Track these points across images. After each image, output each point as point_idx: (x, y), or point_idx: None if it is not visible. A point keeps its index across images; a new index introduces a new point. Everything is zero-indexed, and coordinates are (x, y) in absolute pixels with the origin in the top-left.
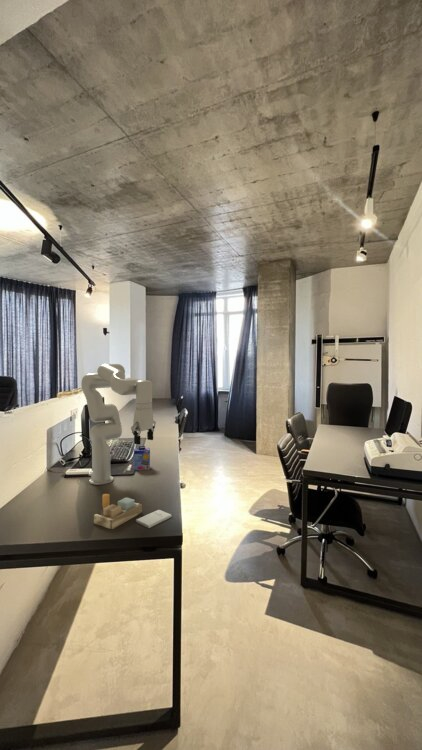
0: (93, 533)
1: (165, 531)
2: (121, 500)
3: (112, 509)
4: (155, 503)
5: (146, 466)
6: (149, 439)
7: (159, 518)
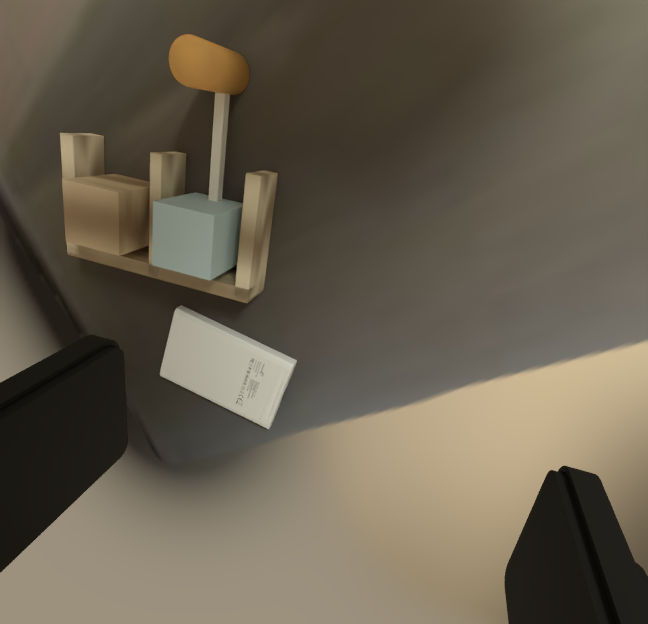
0: (43, 190)
1: (171, 431)
2: (170, 215)
3: (78, 230)
4: (376, 314)
5: None
6: (526, 523)
7: (220, 396)
